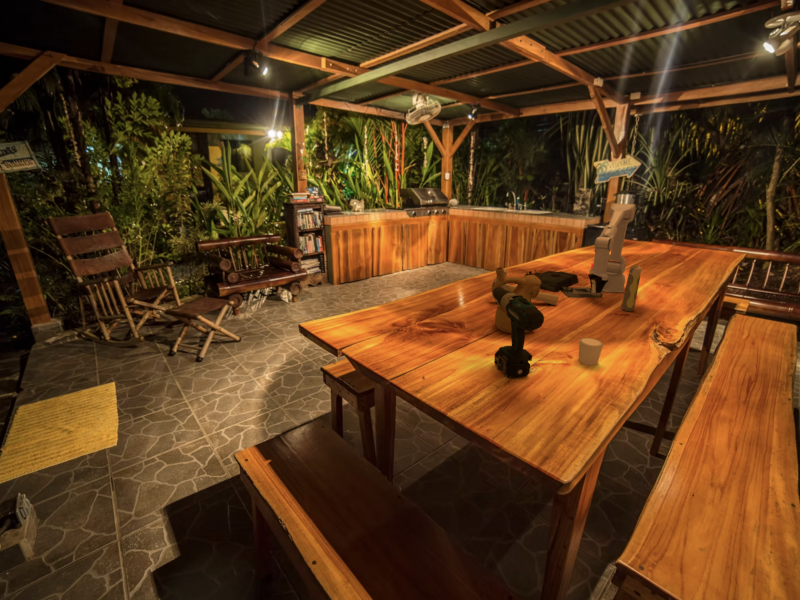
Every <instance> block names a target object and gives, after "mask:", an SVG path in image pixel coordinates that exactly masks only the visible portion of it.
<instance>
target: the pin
mask: <svg viewBox="0 0 800 600" xmlns="http://www.w3.org/2000/svg"><path fill="white" fill-rule="evenodd" d="M591 282H592V288H591V287H590V288H591V295H595V296H599V295H600V293H596V291H595V289H596V284H595V279H591Z"/></svg>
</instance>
